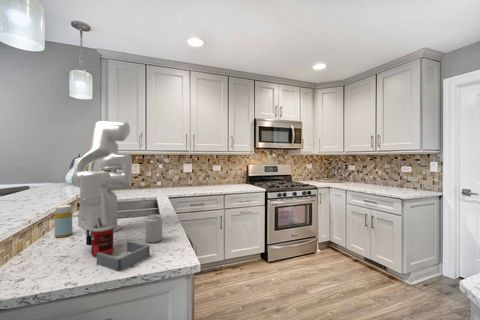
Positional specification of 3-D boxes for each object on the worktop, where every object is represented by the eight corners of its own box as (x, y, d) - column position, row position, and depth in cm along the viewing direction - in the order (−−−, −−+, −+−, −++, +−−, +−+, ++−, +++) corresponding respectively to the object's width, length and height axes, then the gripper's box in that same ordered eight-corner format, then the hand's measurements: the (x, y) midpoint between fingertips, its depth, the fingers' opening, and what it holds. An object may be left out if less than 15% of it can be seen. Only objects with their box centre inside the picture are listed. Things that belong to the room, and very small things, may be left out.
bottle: (75, 234, 119) (75, 205, 118) (61, 238, 112) (60, 208, 112) (66, 232, 121) (65, 204, 121) (51, 237, 114) (51, 207, 114)
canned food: (99, 249, 100) (99, 224, 99) (117, 249, 99) (117, 224, 99) (86, 257, 92) (86, 230, 92) (106, 257, 92) (106, 230, 91)
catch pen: (96, 263, 86) (96, 253, 86) (129, 250, 99) (129, 240, 99) (118, 270, 81) (118, 259, 81) (149, 255, 94) (149, 245, 94)
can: (156, 244, 106) (156, 218, 106) (142, 242, 107) (142, 217, 107) (165, 238, 113) (165, 214, 113) (151, 237, 115) (151, 213, 114)
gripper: (71, 201, 98) (71, 244, 98) (92, 204, 92) (93, 250, 92) (89, 198, 105) (89, 238, 105) (110, 201, 98) (111, 244, 99)
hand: (91, 244), depth 99 cm, fingers closed
